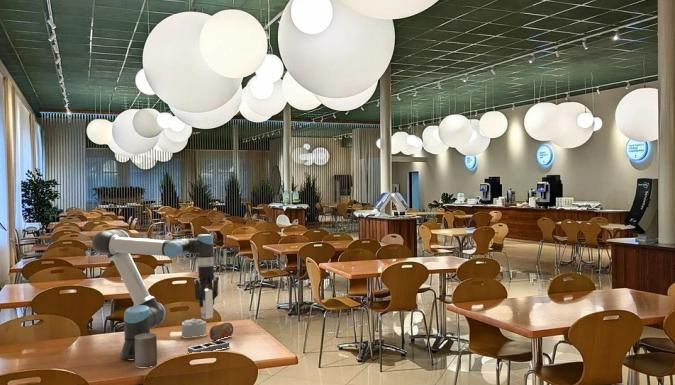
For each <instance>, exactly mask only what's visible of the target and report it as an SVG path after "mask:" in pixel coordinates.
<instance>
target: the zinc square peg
mask: <svg viewBox="0 0 675 385" xmlns="http://www.w3.org/2000/svg"><path fill="white" fill-rule="evenodd" d="M203 300H205V314H203V313H201V312H200V314H201V318H202V319H204V320H207V319H212V318H214V305H213V300H212V289H208V288H205V290H204V299H203Z"/></svg>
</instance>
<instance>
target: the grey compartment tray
mask: <svg viewBox="0 0 675 385" xmlns="http://www.w3.org/2000/svg"><path fill="white" fill-rule="evenodd" d="M227 347H229V348H230V342H229V341H226V340H219V341H211V342H206V343H201V344H197V345H192V346H188V347H187V353H188V352H189V353H192V352H201V351H213V350H216V349H222V348H227Z"/></svg>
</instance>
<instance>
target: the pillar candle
mask: <svg viewBox="0 0 675 385" xmlns="http://www.w3.org/2000/svg"><path fill="white" fill-rule="evenodd" d="M134 338H135V360H134V365H135V366H137V367H150V366H154V365H156V364H157V365H158V349H157V348H158V345H157V344H158V343H157V341H158V340H157V334H156V333H153V332H150V333H145V334H139V335H136V336H135V337H134ZM157 365H156V366H157ZM137 367H136V368H137ZM154 367H155V366H154Z"/></svg>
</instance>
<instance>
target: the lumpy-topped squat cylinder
mask: <svg viewBox="0 0 675 385" xmlns="http://www.w3.org/2000/svg"><path fill="white" fill-rule="evenodd" d="M204 334H206V335H207V321H205V320H202V319H201V318H197V319H196V318H191V319H185V320H184V321H182V322H181V337H182V336H184V337H192V336H200V335H204Z"/></svg>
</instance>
